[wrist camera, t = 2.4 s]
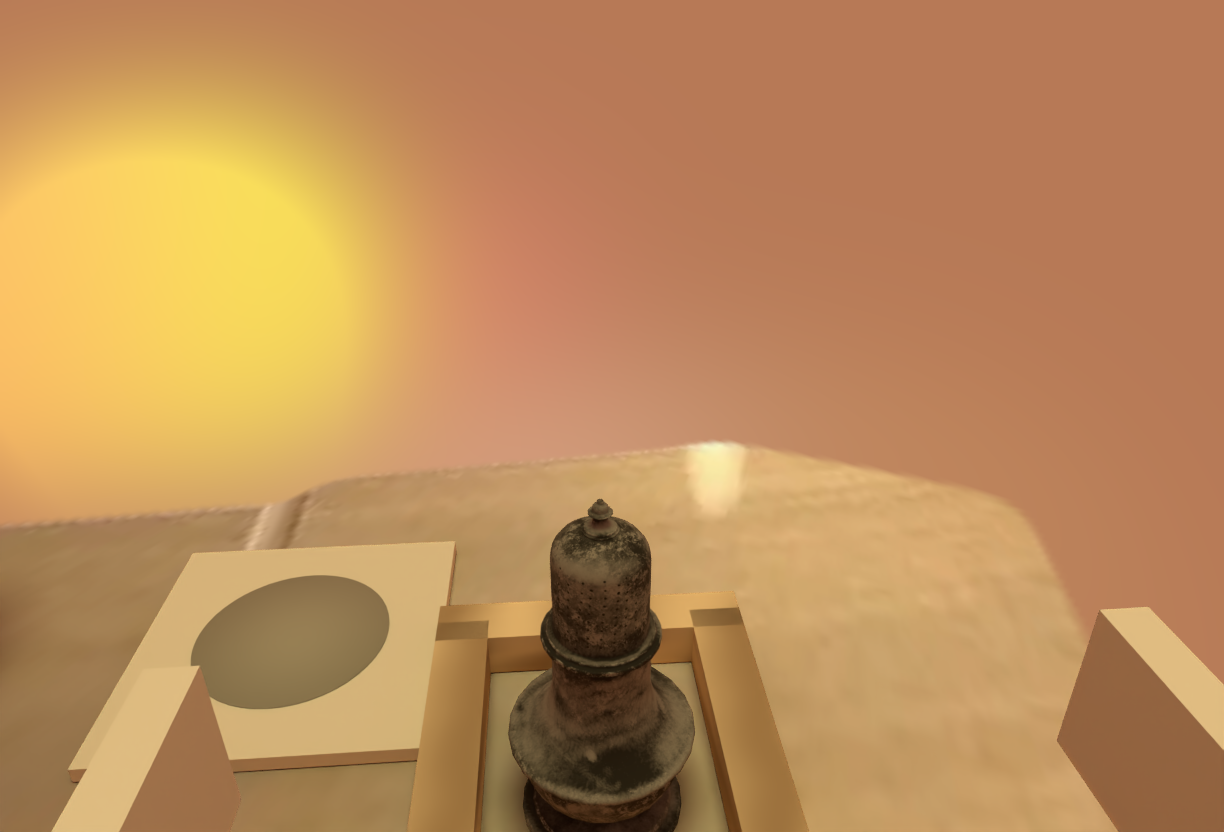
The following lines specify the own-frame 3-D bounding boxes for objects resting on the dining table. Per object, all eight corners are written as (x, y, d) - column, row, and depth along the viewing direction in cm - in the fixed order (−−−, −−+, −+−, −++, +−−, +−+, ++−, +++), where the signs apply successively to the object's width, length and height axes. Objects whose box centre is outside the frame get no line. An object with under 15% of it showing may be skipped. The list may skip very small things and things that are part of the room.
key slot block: (400, 966, 24) (392, 927, 23) (444, 639, 35) (440, 606, 34) (821, 932, 25) (828, 894, 24) (730, 624, 36) (733, 591, 35)
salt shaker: (587, 703, 32) (582, 426, 27) (722, 782, 29) (749, 487, 23) (477, 813, 28) (443, 512, 22) (621, 919, 25) (624, 600, 19)
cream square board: (72, 782, 29) (66, 767, 29) (196, 563, 40) (192, 551, 39) (428, 759, 30) (426, 745, 30) (456, 551, 40) (454, 539, 40)
